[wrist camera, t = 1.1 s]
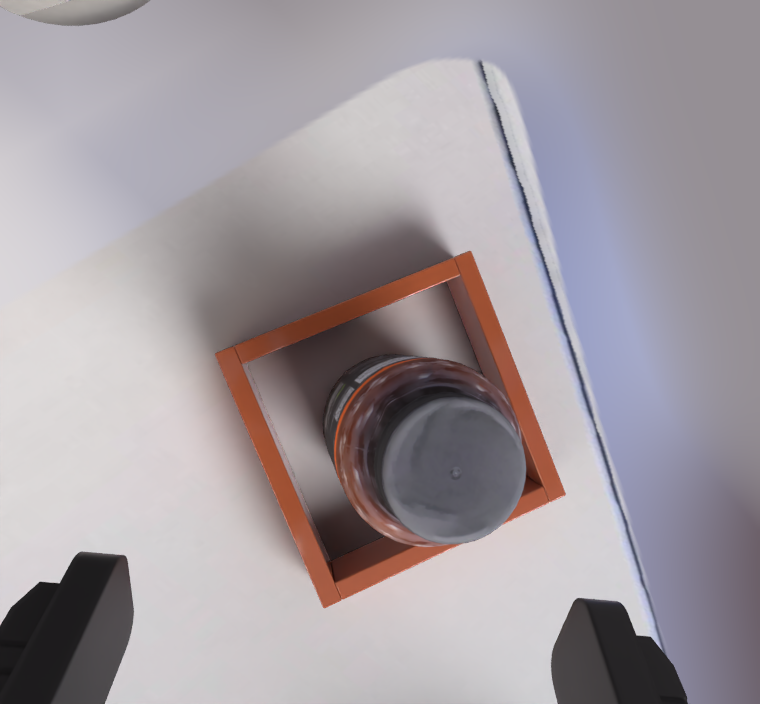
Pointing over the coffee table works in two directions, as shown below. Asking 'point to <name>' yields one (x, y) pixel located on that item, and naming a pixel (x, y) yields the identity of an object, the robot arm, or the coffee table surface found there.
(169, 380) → the coffee table surface
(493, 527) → the supplement bottle
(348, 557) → the reddish-brown square frame
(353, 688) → the coffee table surface
